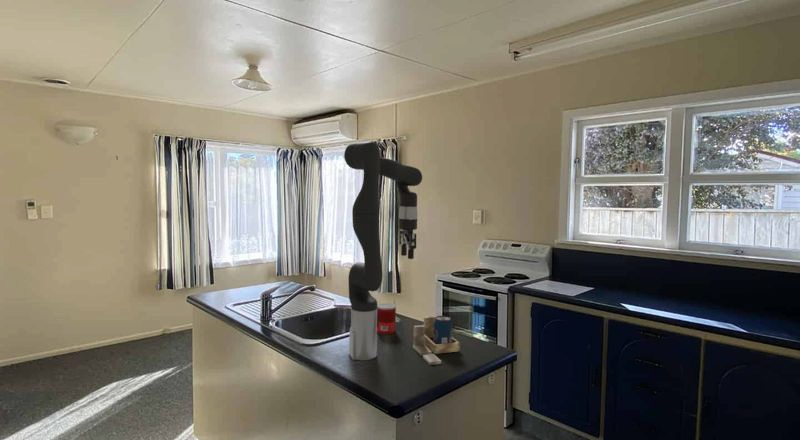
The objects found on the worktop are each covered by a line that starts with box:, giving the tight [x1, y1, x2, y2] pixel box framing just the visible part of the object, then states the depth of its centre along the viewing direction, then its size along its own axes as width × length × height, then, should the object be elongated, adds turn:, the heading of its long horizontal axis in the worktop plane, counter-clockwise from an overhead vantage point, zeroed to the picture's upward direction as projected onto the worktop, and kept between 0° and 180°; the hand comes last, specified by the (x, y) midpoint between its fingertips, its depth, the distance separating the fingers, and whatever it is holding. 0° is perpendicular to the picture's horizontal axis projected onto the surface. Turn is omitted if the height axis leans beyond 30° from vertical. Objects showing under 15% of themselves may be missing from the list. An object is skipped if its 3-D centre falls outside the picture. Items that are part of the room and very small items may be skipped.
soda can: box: [432, 315, 453, 344], centre depth 156 cm, size 7×7×12 cm
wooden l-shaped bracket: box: [412, 324, 442, 366], centre depth 151 cm, size 4×17×8 cm, turn 18°
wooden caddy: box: [423, 315, 461, 355], centre depth 161 cm, size 10×17×8 cm, turn 18°
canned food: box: [377, 302, 397, 335], centre depth 175 cm, size 8×8×11 cm
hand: (407, 257), depth 171 cm, fingers open, 8 cm apart
